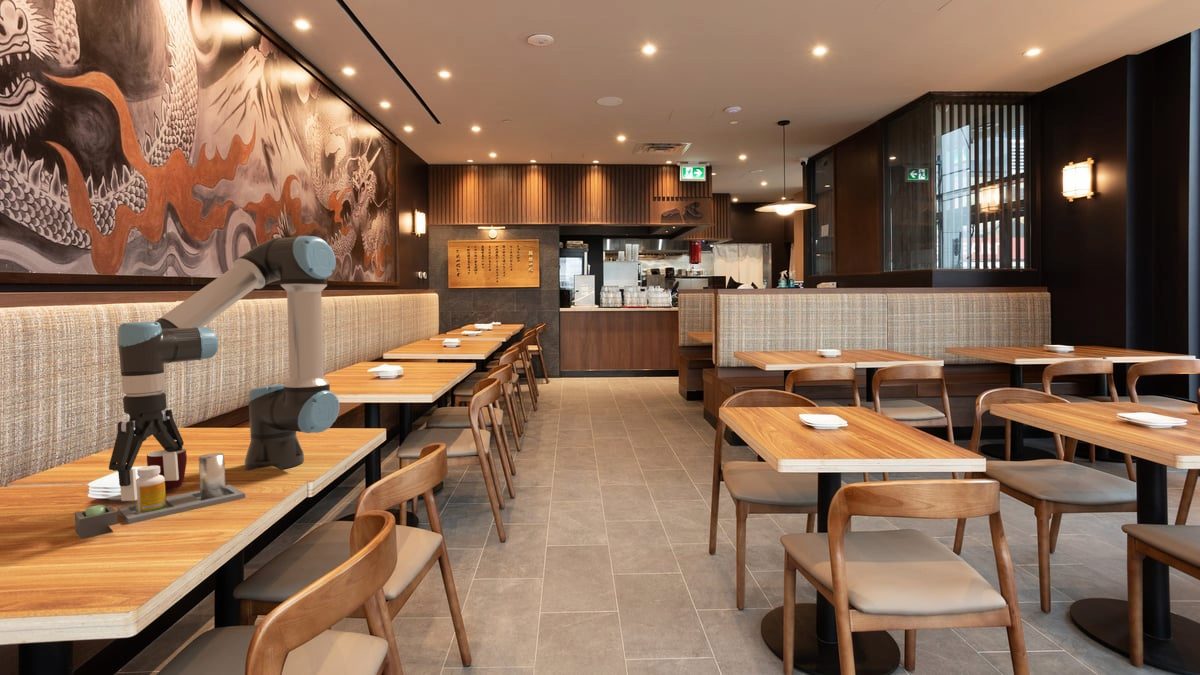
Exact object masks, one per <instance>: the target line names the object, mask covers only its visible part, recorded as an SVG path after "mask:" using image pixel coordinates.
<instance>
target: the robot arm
mask: <svg viewBox="0 0 1200 675" xmlns="http://www.w3.org/2000/svg"><path fill="white" fill-rule="evenodd" d="M336 261H337V258H336V255H335V253H334V251H333V249H332V247H331V246H330V245H329V244H328V242H327V241H325V240H324V239H323V238H320V237H318V236H313V235H299V236H289V237H275V238H272V239H268V240H266V241H264V242H262V243H260V244H258V245H256V246H255V247H254V248H251V249H250V250H249V251H247V252H246V253H244V254H243V255H241V256H240V257H238V258H237V259H236V260H234V262H233V266H232V267H231V268H230V269H229V270H227V271H226V272H224V273H223V274H221V275H219V276H218V277H217V278H215V279H214V280H213V281H211V282H209V283H208V284H206V285H205V286H204V287H203V288H201V289H200V290H198V291H197V292H195V293H194V294H192V295H191V296H190V297H188V298H186V299H185V300H184V301H182V302H181V303H179V304H178V305H176V306H175V307H174V308H172V309H170V310H169V311H168V312H166V313H165V314H163V316H160V317H159V318H157V319H156V320H154V321H139V322H138V321H137V322H136V321H135V322H133V321H131V322H124V323H122V324H121V323H120V325H119V326H118V328H117V329H118V330H117V347H118V353H119V354H118V355H119V366H120V375H121V388H122V394H124V396H123V398H122V404H123V405H122V406H123V407H122V408H123V413H125V414H127V415H128V416H129V421H119V422H118V423H117V434H116V439H115V441H114V446H113V450H112V452H111V453H112V454H111V457H110V461H109V465H108V470H109V471H114V472H117V473H118V482H119V484H118V485H119V486H120V487H119V488H120V496H121V497H120V499H121V502H127V501H128V502H129V501H132V502H133V501H135V500H137V486H136V480H137V476H136V468H133V466H134V464H135V461H136V459H137V457H138V455H139V452H140V449H141V448H142V445H143V442H144V441H145V442H146V441H147V438H151V436H153V437H154V438H155V439H156V441H157V442H158V443H159V445H161V447H162V449H163V450H165V451H167V452H164V453H163V465H164V478H165V481H174V480H179V474H178V458H177V451H181V450H182V449H183V446H184V444H185V443H184V441H183V437H182V436H181V433H180V430H179V429H178V427H177V425H176V422H175V420H174V416H173V410H172V409H167V407H168V406H167V396H166V393H165V392H163V391H165V390H166V389H167V388H166V378H165V366H164V365H165V364H171V363H180V362H183V363H184V362H191V361H193V362H194V361H202V360H205V359H212V358H213V357H215V355H216V354H217V352H218V350H219V347H220V346H219V338H218V336H217V334H216V332H215V331H214V330H213V329H212V328H210V327H206V325H208V324H209V323H210V322H212V321H213V320H214V319H215V318H217V317H218V316H219V315H221V314H222V313H224V312H225V311H226V310H228V309H229V308H230V307H232V306H233V305H234V304H236V303H237V302H238V301H240V300H241V299H242V298H244V297H245V296H247V295H248V294H249V293H251V291H253V290H255V289H257V290H260V289H263V288H264V287H265V286H266V285H268V284H270V283H272V282H276V281H280V287H282V288H283V289H284V290H285V292H286V299H287V300H286V301H287V306H286V307H287V335H288V336H287V337H288V339H287V340H288V365H289V368H288V369H289V372H288V374H289V378H288V380H287V381H286V382H284V383H281V384H274V385H272V384H271V385H267V386H259V387H254V388H252V389H250V391H249V392H248V402H247V404H248V413H249V414H248V415H249V429H250V430H249V431H250V442H249V446H248V449H247V452H246V455H245V459H244V469H245V470H247V471H251V470H257V469H262V468H267V467H275V468H277V469H278V470H285V469H289V468H293V467H296V466H299V465H301V464H303V463H304V461H305V454H304V450H303V448H302V446H301V444H300V441H299V439H298V437H297V432H298V433H299V432H301V433H304V434H312V433H314V434H318V433H319V434H320V433H322V432H325V431H327V430H328V429H330V427H332V426H333V424H334V423H335V422H336V420H337V419H338V416H339V414H340V413H339V412H340V402H339V398H338V397H337V395H336V394H335V393H334V392H332V391H331V386H330V385H331V384H330V381H329V380H327V379H326V378H325V376H324V344H323V343H324V341H323V340H324V339H323V306H322V303H323V302H322V292H323V290H324V289H325V288H326V287H328V278H330V277H331V276H332V275H333V272H334V271H335V269H336V264H337V262H336Z"/></svg>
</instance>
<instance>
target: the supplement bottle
mask: <svg viewBox="0 0 1200 675" xmlns="http://www.w3.org/2000/svg"><path fill="white" fill-rule="evenodd" d="M159 473H160V466H141V467H139V468H138V469H137V476H138V478H136V486H137V500H134V501H135V504H136V513H137V514H142V513H146V512H151V511H156V510H160V509H165V508H166V497H167V495H166V489H165V478H164V477H163V476H162V475H159Z"/></svg>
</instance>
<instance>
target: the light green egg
mask: <svg viewBox="0 0 1200 675" xmlns="http://www.w3.org/2000/svg"><path fill="white" fill-rule="evenodd" d="M105 507H106V505H104V504H97V505H93V506H88V507H86V508H84V509H85V510H84V511H85V512H86V517H88V516H92V515H97V514H102V513H106V509H105Z"/></svg>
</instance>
